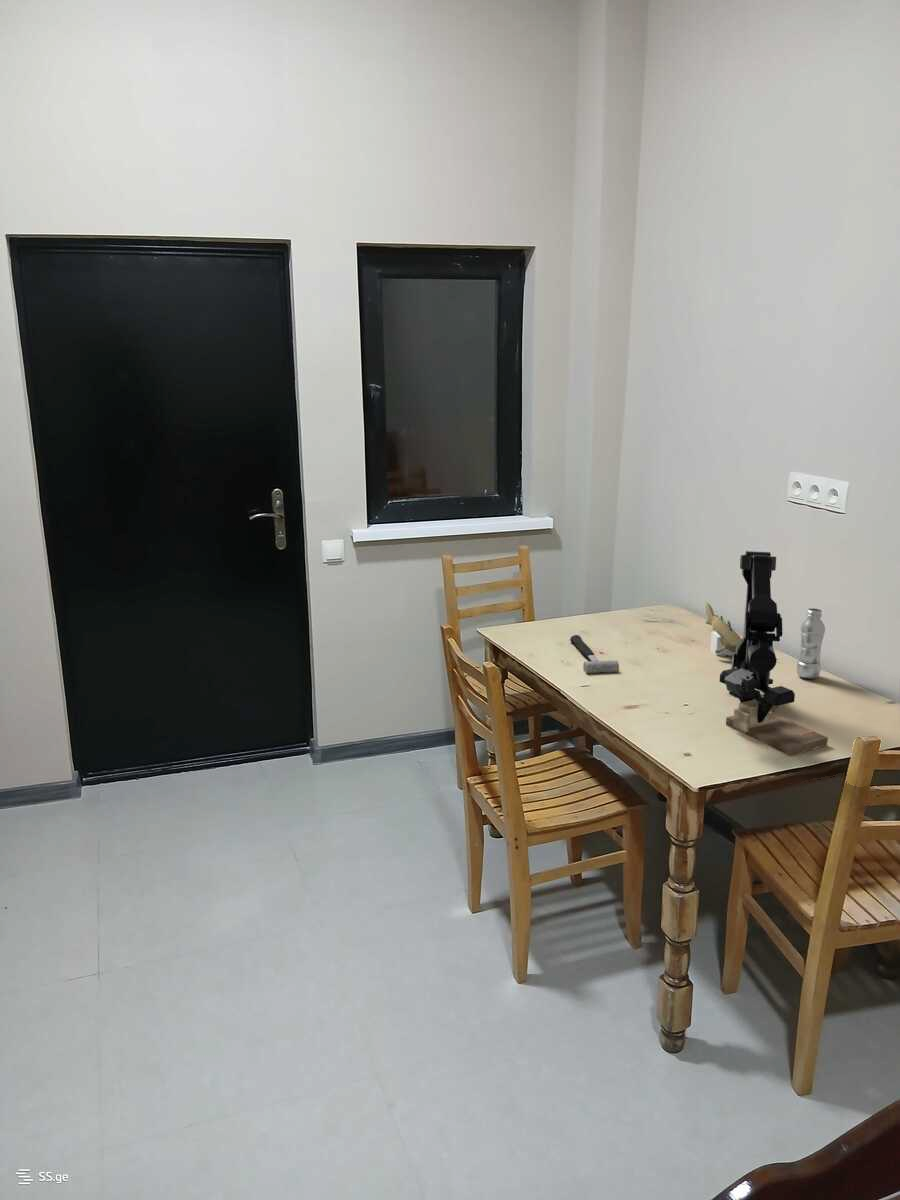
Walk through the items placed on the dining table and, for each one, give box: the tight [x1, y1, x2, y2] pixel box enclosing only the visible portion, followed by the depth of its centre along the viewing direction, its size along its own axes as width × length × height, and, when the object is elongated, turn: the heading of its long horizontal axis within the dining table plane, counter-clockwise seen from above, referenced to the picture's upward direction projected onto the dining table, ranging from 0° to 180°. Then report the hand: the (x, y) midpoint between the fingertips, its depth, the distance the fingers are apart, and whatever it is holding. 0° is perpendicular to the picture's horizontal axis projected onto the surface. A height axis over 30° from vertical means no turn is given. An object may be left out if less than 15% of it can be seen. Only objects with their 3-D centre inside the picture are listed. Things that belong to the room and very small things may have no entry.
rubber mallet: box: [569, 634, 620, 674], centre depth 258 cm, size 10×4×30 cm
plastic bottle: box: [796, 608, 826, 680], centre depth 236 cm, size 6×7×20 cm
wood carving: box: [705, 601, 742, 657], centre depth 261 cm, size 9×35×11 cm, turn 179°
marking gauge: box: [733, 699, 780, 732], centre depth 203 cm, size 4×12×6 cm, turn 116°
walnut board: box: [725, 711, 829, 757], centre depth 201 cm, size 20×12×2 cm, turn 27°
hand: (753, 719), depth 202 cm, fingers closed on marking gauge, 4 cm apart
